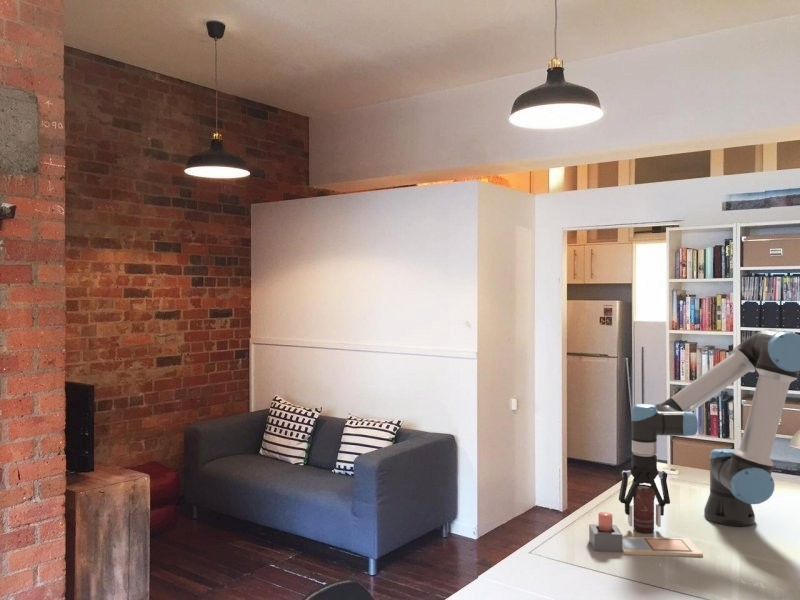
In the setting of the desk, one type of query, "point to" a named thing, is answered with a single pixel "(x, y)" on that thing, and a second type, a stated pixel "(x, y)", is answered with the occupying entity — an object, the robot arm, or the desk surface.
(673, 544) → the board
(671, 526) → the desk surface
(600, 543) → the button housing
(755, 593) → the desk surface
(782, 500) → the desk surface
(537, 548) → the desk surface
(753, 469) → the robot arm
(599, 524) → the button
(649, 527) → the can
